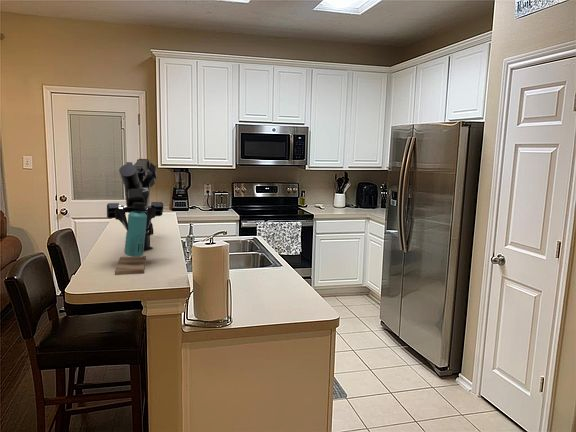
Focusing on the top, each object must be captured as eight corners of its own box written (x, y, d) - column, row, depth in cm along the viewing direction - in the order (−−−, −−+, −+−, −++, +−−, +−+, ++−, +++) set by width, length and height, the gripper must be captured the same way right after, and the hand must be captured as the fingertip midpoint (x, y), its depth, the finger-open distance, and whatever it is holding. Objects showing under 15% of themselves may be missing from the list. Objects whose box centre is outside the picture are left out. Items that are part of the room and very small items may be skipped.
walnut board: (120, 260, 156) (120, 257, 155) (146, 259, 158) (146, 256, 158) (114, 274, 139) (114, 271, 138) (143, 273, 141) (143, 269, 141)
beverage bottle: (137, 262, 145) (143, 204, 142) (119, 258, 146) (125, 201, 143) (146, 257, 151) (152, 203, 148) (129, 254, 152) (135, 199, 149)
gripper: (105, 179, 144) (108, 217, 136) (162, 179, 152) (167, 214, 144) (105, 199, 152) (108, 236, 144) (159, 198, 160) (164, 232, 152)
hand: (137, 229), depth 146 cm, fingers closed on beverage bottle, 6 cm apart
